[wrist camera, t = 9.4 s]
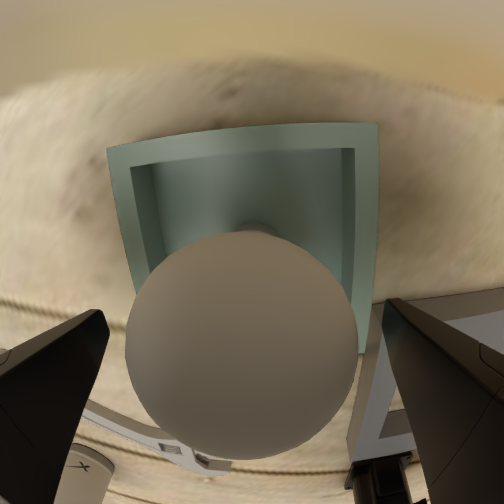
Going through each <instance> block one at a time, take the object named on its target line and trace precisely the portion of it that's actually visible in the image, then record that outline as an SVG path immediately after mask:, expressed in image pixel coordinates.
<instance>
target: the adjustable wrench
mask: <svg viewBox="0 0 504 504" xmlns="http://www.w3.org/2000/svg"><path fill="white" fill-rule="evenodd" d="M6 351H7V350H5V349H1V350H0V354H2V353H4V352H6ZM81 418H82V419H84V420H86V421H88V422H90V423H92V424H94V425H96V426H98V427H100V428H102V429H104V430H106V431H109V432H111V433H113V434H115V435H118V436H120V437H122V438H125V439H127V440H130V441H132V442H134V443H137V444H139V445H141V446H144V447H146V448H148V449H150V450H152V451H154V452H155V453H157V454H159V455H161V456H163V457H165V458H166V459H168V460H170V461H172V462H173V463H175V464H177V465H179V466H180V467H182V468H184V469H186V470H188V471H191V472H194V473H197V474H202V475H209V476H221V475H226V474H229V473H230V469H231V461H218V460H208V459H206V458H205V457H204V456H207V457H215V456H210V455H207V454H204V453H201V452H198V451H196V450H194V449H192V448H189V447H187V446H185V445H184V444H182V443H181V442H179V441H177V440H176V439H175V438H173V437H172V436H170V435H169V434H168V433H166V432H165V431H164V430H163V429H159V428H154V427H150V426H147V425H144V424H141V423H139V422H137V421H134V420H132V419H129V418H127V417H125V416H123V415H120V414H118V413H116V412H114V411H112V410H109V409H107V408H105V407H103V406H101V405H99V404H97V403H95V402H93V401H91V400H89V399H88V400H87V403H86V406H85V408H84V411H83V414H82V416H81ZM216 458H219V457H216Z"/></svg>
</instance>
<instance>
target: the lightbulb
mask: <svg viewBox="0 0 504 504" xmlns="http://www.w3.org/2000/svg"><path fill="white" fill-rule="evenodd" d="M358 351H359V344H358V331H357V325H356V319H355V315H354V312H353V310H352V307H351V305H350V303H349V300H348V298H347V296H346V294H345V292H344V289H343V287H342V286H341V285H340V283H339V282H338V281H337V280H336V278H335V277H334V276H333V274H332V273H331V272H330V271H329V270H328V269H327V268H326V267H325V266H324V265H323V264H322V263H321V262H319V261H318V260H317V259H316V258H314V257H313V256H312V255H311V254H309V253H308V252H307V251H306V250H304V249H302V248H300V247H298V246H297V245H295V244H293V243H291V242H289V241H287V240H284V239H281V238H280V237H279V236H278V234H277V233H276V231H275V230H274V229H273V228H271V227H270V226H268V225H266V224H263V223H260V222H249V223H246V224H243V225H241V226H239V227H238V228H237V229H235V231H234V232H229V233H219V234H215V235H212V236H209V237H205V238H202V239H199V240H197V241H195V242H193V243H191V244H189V245H187V246H185V247H183V248H182V249H180V250H178V251H176V252H174V253H172V254H171V255H169V256H168V257H167V258H166V259H165V260H164V261H163V262H161V263H160V264H159V265H158V266H157V267H156V268H155V269H154V270H153V271H152V273H151V274H150V275H149V277H148V278H147V279H146V281H145V282H144V284H143V285H142V287H141V288H140V290H139V291H138V293H137V295H136V297H135V300H134V303H133V306H132V309H131V312H130V315H129V319H128V322H127V325H126V345H125V359H126V363H127V368H128V372H129V376H130V379H131V382H132V385H133V388H134V390H135V392H136V394H137V396H138V398H139V400H140V402H141V403H142V405H143V407H144V408H145V410H146V411H147V413H148V414H149V416H150V417H151V418H152V419H153V420H154V422H155V423H156V424H157V425H158V426H159V427H161V428H162V429H163V430H164V431H165V432H166V433H168V434H169V435H170V436H172V437H173V438H175V439H176V440H177V441H179V442H181V443H182V444H184V445H185V446H187V447H189V448H192V449H194V450H196V451H198V452H201V453H204V454H207V455H210V456H215V457H219V458H225V459H234V460H252V459H261V458H266V457H271V456H274V455H277V454H280V453H283V452H285V451H288V450H290V449H293V448H296V447H298V446H299V445H301V444H303V443H305V442H307V441H308V440H310V439H311V438H312V437H313V436H314V435H316V434H317V433H318V432H319V431H320V430H321V429H322V428H323V427H324V426H325V425H327V424H328V423H329V422H330V421H331V419H332V418H333V417H334V415H335V414H336V413H337V411H338V410H339V408H340V407H341V405H342V404H343V402H344V400H345V399H346V397H347V395H348V393H349V391H350V388H351V386H352V383H353V381H354V376H355V372H356V367H357V360H358Z"/></svg>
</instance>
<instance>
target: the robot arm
mask: <svg viewBox="0 0 504 504" xmlns="http://www.w3.org/2000/svg"><path fill="white" fill-rule="evenodd" d="M382 331H383V335H384V339H385V343H386V348H387V352H388V356H389V361H390V365H391V369H392V372H393V375H394V378H395V381H396V384H397V387H398V390H399V393H400V396H401V399H402V402H403V405H404V408H405V411H406V414H407V417H408V420H409V423H410V427H411V430H412V433H413V437H414V440H415V443H416V447H417V450H418V454H419V458H420V461H421V465H422V469H423V472H424V476H425V480H426V484H427V488H428V489H429V490H428V493H429V497H430V502H431V504H504V355H503V354H501V353H500V352H498V351H496V350H494V349H492V348H490V347H488V346H487V345H485V344H483V343H479V341H478V340H476V339H474V338H472V337H470V336H469V335H467V334H465V333H463V332H461V331H459V330H458V329H456V328H454V327H452V326H450V325H448V324H447V323H445V322H443V321H441V320H439V319H437V318H435V317H434V316H432V315H430V314H428V313H426V312H424V311H422V310H420V309H419V308H417V307H415V306H413V305H411V304H409V303H407V302H405V301H403V300H402V299H400V298H391V299H387V300H386V301H385V303H384V310H383V317H382ZM109 336H110V331H109V327H108V325H107V322H106V319H105V316H104V314H103V312H102V311H101V310H99V309H90V310H88V311H86V312H84V313H82V314H80V315H78V316H76V317H74V318H72V319H70V320H68V321H66V322H64V323H62V324H60V325H58V326H56V327H54V328H52V329H50V330H48V331H46V332H44V333H42V334H40V335H38V336H36V337H34V338H32V339H30V340H28V341H26V342H24V343H22V344H20V345H18V346H16V347H14V348H13V349H10V350H8V351H6V352H4V353H2V354H0V504H54V501H55V497H56V494H57V490H58V487H59V483H60V480H61V475H62V472H63V469H64V466H65V463H66V460H67V457H68V454H69V451H70V448H71V445H72V442H73V439H74V436H75V433H76V430H77V427H78V425H79V422H80V419H81V416H82V414H83V411H84V408H85V406H86V403H87V400H88V398H89V395H90V393H91V390H92V388H93V385H94V383H95V380H96V378H97V375H98V372H99V369H100V366H101V363H102V359H103V356H104V353H105V349H106V346H107V343H108V340H109ZM412 457H413V454H412V452H409V453H404V454H400V455H395V456H390V457H385V458H380V459H374V460H369V461H362V462H356V463H354V464H352V466H351V469H350V472H349V474H348V477H347V480H346V482H345V485H344V488H345V490H349V489H353V494H354V501H355V504H413V502H412V498H411V494H410V490H409V486H408V482H407V478H406V474H405V469H406V467H407V466H408V464H409V462H410V461H411V459H412ZM414 504H427V502H426V498H424V499H422V500H420V501H419V502H416V503H414Z"/></svg>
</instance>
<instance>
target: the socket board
mask: <svg viewBox="0 0 504 504" xmlns="http://www.w3.org/2000/svg"><path fill="white" fill-rule="evenodd" d="M405 302H407V303H409V304H411V305H413V306H415V307H417V308H419V309H420V310H422V311H424V312H426V313H428V314H430V315H432V316H434V317H435V318H437V319H439V320H441V321H443V322H445V323H447V324H448V325H450V326H452V327H454V328H456V329H458V330H459V331H461V332H463V333H465V334H467V335H469V336H470V337H472V338H474V339H476V340H478V341H479V343H483V344H485V345H487V346H488V347H490V348H492V349H494V350H496V351H498V352H500V353H501V354H503V355H504V288H498V289H492V290H486V291H479V292H472V293H466V294H459V295H451V296H444V297H436V298H428V299H420V300H411V301H405ZM383 310H384V303H383V304H372V305H371V312H370V320H369V327H368V334H367V341H366V347H365V353H364V357H363V362H362V368H361V374H360V379H359V384H358V389H357V394H356V399H355V404H354V409H353V413H352V417H351V422H350V426H349V430H348V434H347V438H346V440H347V446H348V452H349V458H350V462H352V461H359V460H365V459H371V458H377V457H382V456H388V455H392V454H397V453H402V452H406V451H411V450H415V449H417V447H416V443H415V440H414V437H413V433H412V430H411V427H410V423H409V420H408V417H407V414H406V411H405V409H404V410H399V411H393V412H388V410H389V407H390V404H391V401H392V398H393V395H394V391H395V388H396V385H397V384H396V381H395V378H394V375H393V372H392V369H391V365H390V361H389V356H388V352H387V348H386V343H385V339H384V335H383V331H382V317H383Z"/></svg>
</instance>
